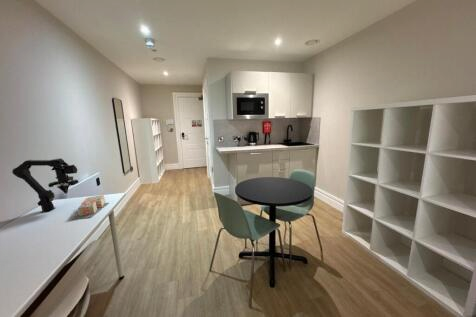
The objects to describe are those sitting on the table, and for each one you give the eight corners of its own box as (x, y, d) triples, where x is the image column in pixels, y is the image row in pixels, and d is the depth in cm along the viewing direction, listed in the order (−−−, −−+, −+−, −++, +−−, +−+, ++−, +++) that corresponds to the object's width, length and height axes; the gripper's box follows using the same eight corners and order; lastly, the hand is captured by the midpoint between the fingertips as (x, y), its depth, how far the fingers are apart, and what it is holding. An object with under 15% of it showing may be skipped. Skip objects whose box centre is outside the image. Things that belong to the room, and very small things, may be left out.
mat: (71, 219, 140) (71, 219, 140) (92, 204, 163) (92, 204, 163) (90, 217, 141) (90, 217, 141) (109, 203, 164) (109, 202, 164)
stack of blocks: (79, 216, 143) (99, 212, 147) (77, 208, 141) (97, 204, 146) (87, 205, 162) (105, 201, 167) (86, 197, 161) (103, 194, 165)
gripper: (80, 170, 163) (85, 188, 167) (56, 172, 162) (61, 190, 166) (71, 174, 153) (76, 193, 156) (45, 177, 151) (50, 196, 155)
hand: (66, 193), depth 158 cm, fingers closed
